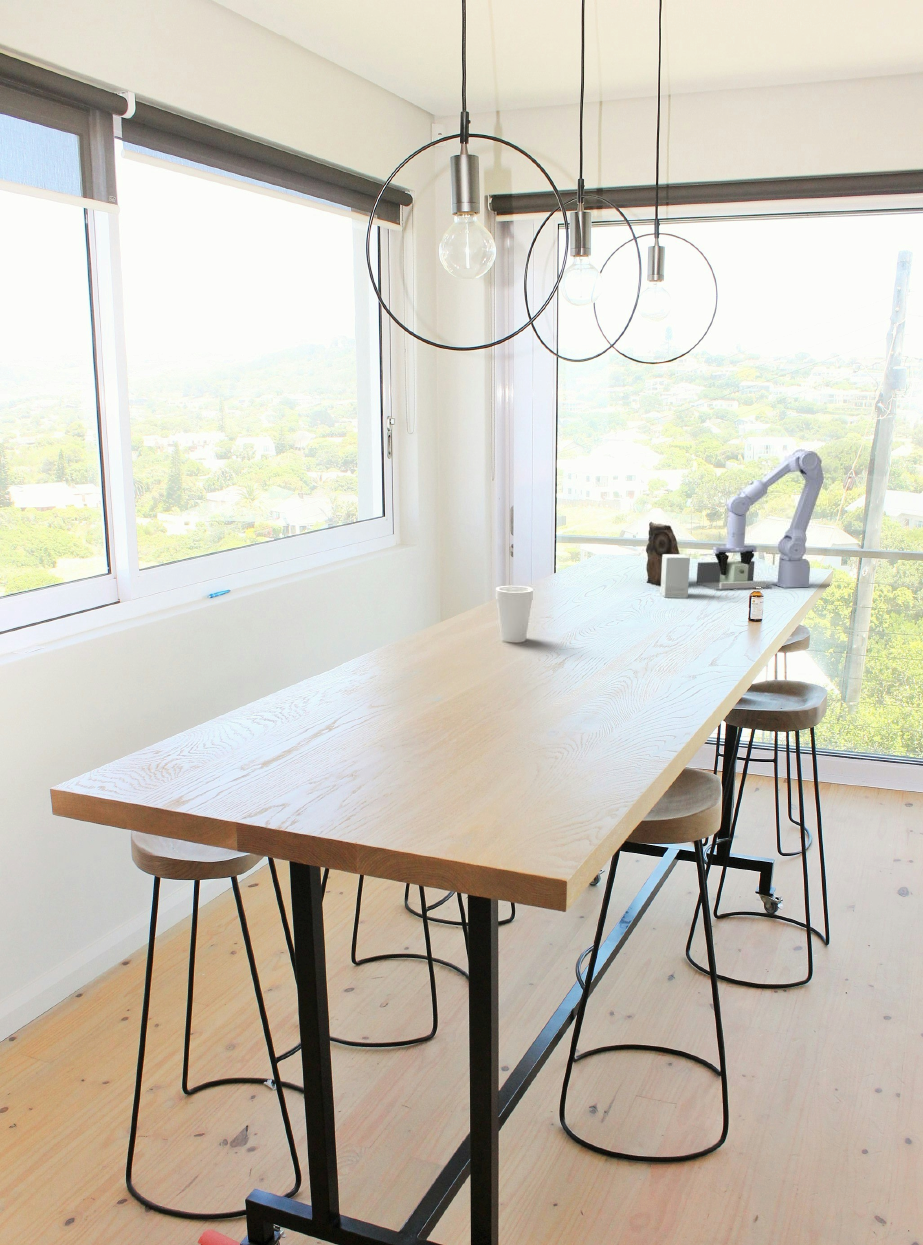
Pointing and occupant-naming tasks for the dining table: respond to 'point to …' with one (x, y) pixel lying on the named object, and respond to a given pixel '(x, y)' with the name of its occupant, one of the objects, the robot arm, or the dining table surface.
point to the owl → (659, 550)
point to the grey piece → (711, 578)
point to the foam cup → (514, 612)
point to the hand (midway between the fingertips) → (733, 574)
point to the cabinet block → (735, 572)
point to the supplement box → (675, 575)
